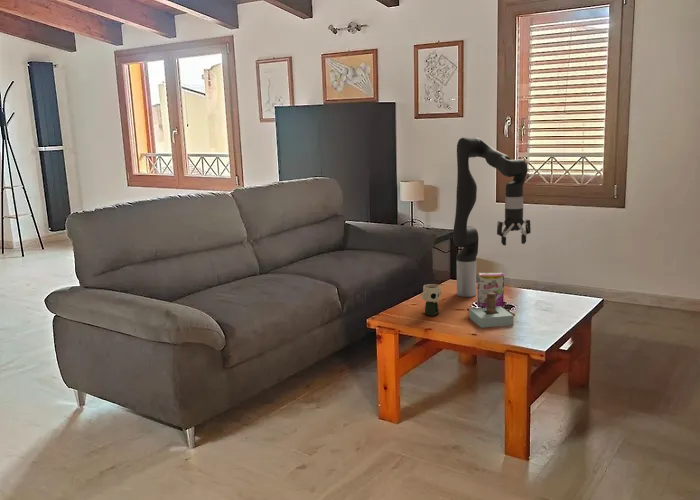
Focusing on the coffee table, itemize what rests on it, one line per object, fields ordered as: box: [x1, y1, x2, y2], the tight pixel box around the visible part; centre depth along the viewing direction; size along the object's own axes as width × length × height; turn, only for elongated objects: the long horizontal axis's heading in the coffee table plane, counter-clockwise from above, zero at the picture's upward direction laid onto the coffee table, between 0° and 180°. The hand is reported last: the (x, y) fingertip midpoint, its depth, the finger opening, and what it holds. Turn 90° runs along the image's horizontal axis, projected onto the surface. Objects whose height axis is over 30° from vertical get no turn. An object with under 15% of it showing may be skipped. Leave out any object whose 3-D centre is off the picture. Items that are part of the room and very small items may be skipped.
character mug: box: [421, 283, 442, 316], centre depth 286 cm, size 11×7×13 cm, turn 127°
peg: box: [487, 293, 496, 314], centre depth 274 cm, size 4×4×12 cm
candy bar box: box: [476, 272, 505, 308], centre depth 290 cm, size 11×5×16 cm, turn 84°
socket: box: [468, 306, 515, 329], centre depth 274 cm, size 14×14×4 cm
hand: (513, 244), depth 281 cm, fingers open, 8 cm apart
